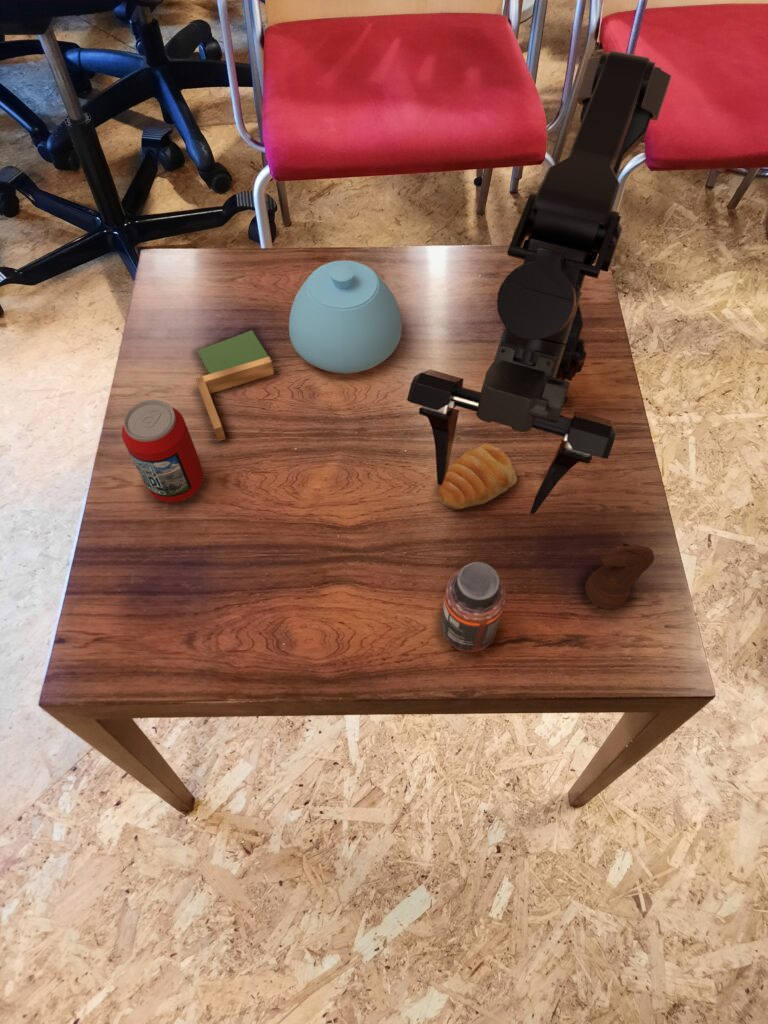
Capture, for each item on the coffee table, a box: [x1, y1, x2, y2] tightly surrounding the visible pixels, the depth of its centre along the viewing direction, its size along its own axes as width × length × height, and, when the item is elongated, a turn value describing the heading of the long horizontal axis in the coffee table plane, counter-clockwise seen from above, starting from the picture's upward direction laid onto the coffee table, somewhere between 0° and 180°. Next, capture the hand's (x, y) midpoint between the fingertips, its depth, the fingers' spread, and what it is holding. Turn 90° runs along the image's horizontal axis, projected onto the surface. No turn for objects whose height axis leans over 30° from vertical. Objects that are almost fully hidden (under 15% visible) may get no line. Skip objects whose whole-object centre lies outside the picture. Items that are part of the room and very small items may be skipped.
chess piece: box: [585, 541, 655, 611], centre depth 76 cm, size 5×5×10 cm
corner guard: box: [195, 356, 275, 442], centre depth 93 cm, size 10×9×2 cm
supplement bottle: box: [440, 561, 507, 653], centre depth 73 cm, size 6×6×11 cm
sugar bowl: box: [288, 260, 403, 375], centre depth 95 cm, size 15×15×12 cm
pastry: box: [437, 443, 518, 510], centre depth 86 cm, size 9×7×4 cm
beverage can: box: [121, 399, 204, 503], centre depth 82 cm, size 7×7×12 cm
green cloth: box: [196, 329, 270, 374], centre depth 98 cm, size 8×6×1 cm
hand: (485, 498), depth 70 cm, fingers open, 9 cm apart
